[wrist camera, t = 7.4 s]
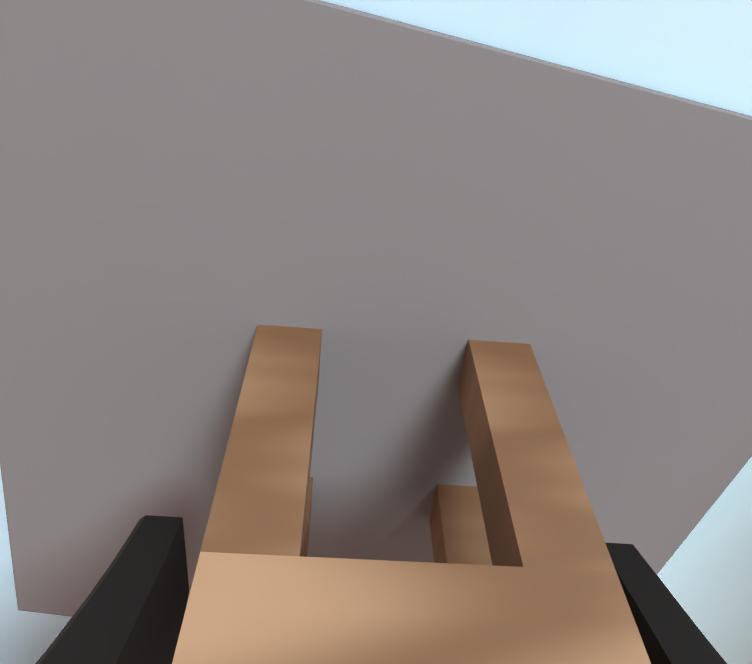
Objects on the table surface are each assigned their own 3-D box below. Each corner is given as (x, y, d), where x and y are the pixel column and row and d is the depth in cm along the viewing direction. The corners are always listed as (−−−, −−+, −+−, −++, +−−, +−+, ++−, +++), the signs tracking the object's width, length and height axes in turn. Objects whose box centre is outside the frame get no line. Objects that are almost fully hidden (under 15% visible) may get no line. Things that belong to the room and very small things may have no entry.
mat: (953, 171, 11) (972, 179, 10) (572, 662, 19) (575, 675, 19) (-53, -101, 8) (-69, -100, 8) (24, 596, 17) (18, 609, 17)
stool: (530, 343, 12) (666, 704, 7) (479, 521, 15) (545, 873, 10) (257, 324, 12) (165, 686, 6) (259, 510, 15) (198, 869, 9)
